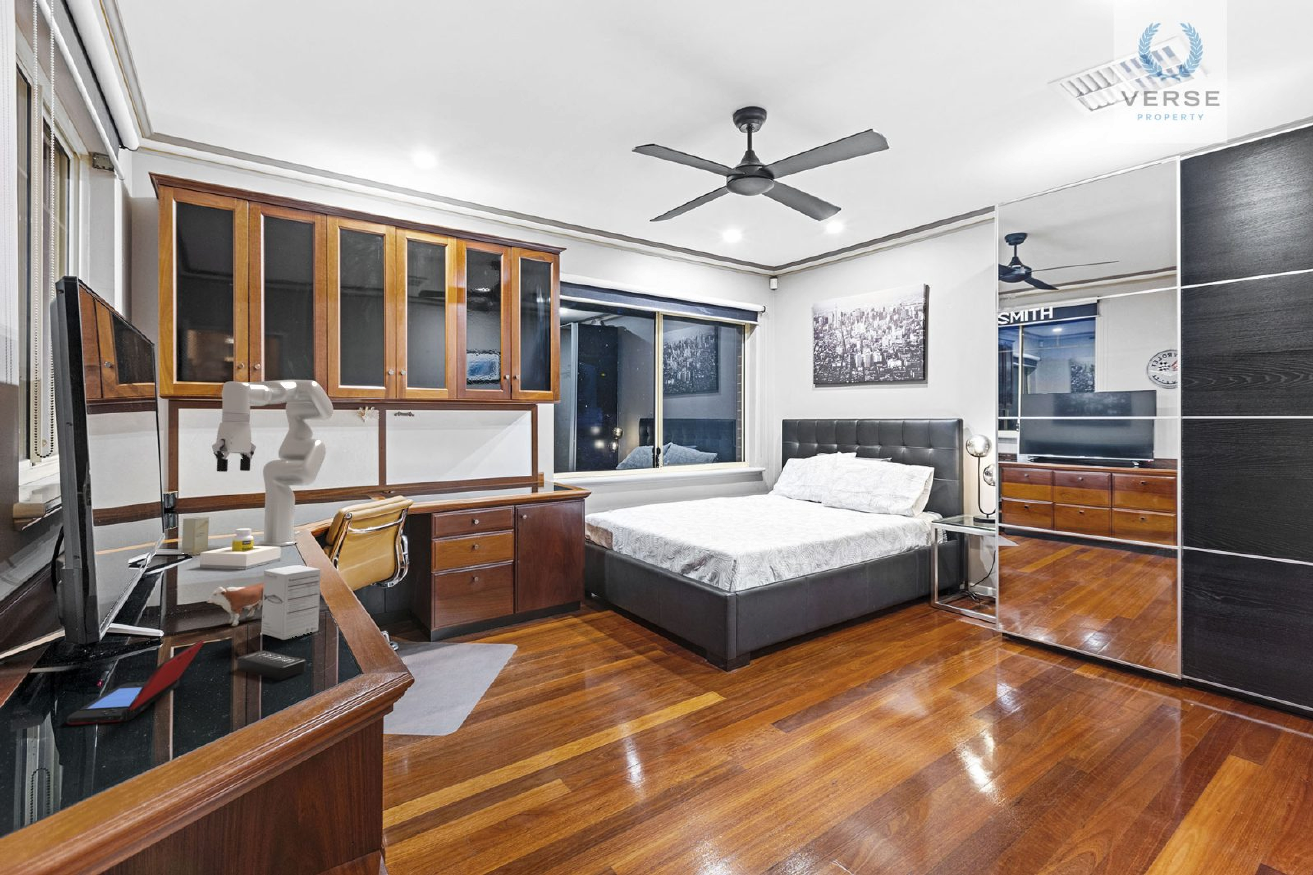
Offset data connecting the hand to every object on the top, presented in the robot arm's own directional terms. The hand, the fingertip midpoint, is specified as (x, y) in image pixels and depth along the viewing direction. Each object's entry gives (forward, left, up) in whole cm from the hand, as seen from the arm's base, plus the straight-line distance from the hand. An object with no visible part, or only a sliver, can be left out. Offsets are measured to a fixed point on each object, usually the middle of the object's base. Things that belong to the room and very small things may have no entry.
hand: (233, 471), depth 198 cm
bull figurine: (+67, +58, -29) cm, 93 cm away
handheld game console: (+107, +75, -29) cm, 133 cm away
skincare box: (-4, -16, -28) cm, 33 cm away
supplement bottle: (+10, +12, -28) cm, 31 cm away
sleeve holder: (+10, +12, -28) cm, 32 cm away
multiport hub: (+92, +84, -29) cm, 128 cm away
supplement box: (+73, +73, -28) cm, 107 cm away
